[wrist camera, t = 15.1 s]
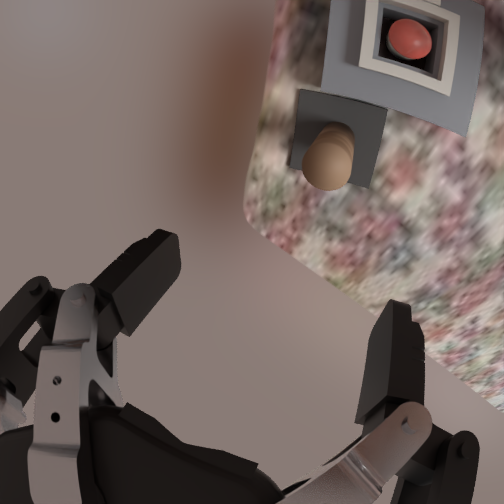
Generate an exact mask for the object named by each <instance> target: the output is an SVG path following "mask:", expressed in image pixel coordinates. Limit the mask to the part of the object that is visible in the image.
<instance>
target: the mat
mask: <svg viewBox="0 0 504 504" xmlns="http://www.w3.org/2000/svg"><path fill="white" fill-rule="evenodd" d="M387 111H388V110H387V109H384V108H381V107H378V106H374V105H370V104H367V103H363V102H359V101H355V100H351V99H347V98H343V97H339V96H334V95H329V94H325V93H320V92H314V91H309V90H303V89H300V95H299V103H298V110H297V118H296V126H295V133H294V141H293V148H292V155H291V162H290V168H293V169H297V170H302V159H303V157H304V155H305V153H306V152H307V150H308V149H309V147H310V146H311V145H312V143H313V142H314V141H315V139H316V138H317V136H318V135H319V134H320V132H321V131H322V130H323V128H324V127H325V126H326V125H327V124H329V123H332V122H342V123H344V124H346V125H348V126H349V127H350V128H351V129H352V131H353V133H354V136H355V145H354V153H353V161H352V169H351V175H350V178H349V180H348V181H347V182H348V183H351V184H355V185H358V186H362V187H365V188H368V189H369V185H370V181H371V178H372V174H373V170H374V167H375V163H376V159H377V155H378V151H379V147H380V143H381V138H382V134H383V130H384V125H385V121H386V116H387Z"/></svg>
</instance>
